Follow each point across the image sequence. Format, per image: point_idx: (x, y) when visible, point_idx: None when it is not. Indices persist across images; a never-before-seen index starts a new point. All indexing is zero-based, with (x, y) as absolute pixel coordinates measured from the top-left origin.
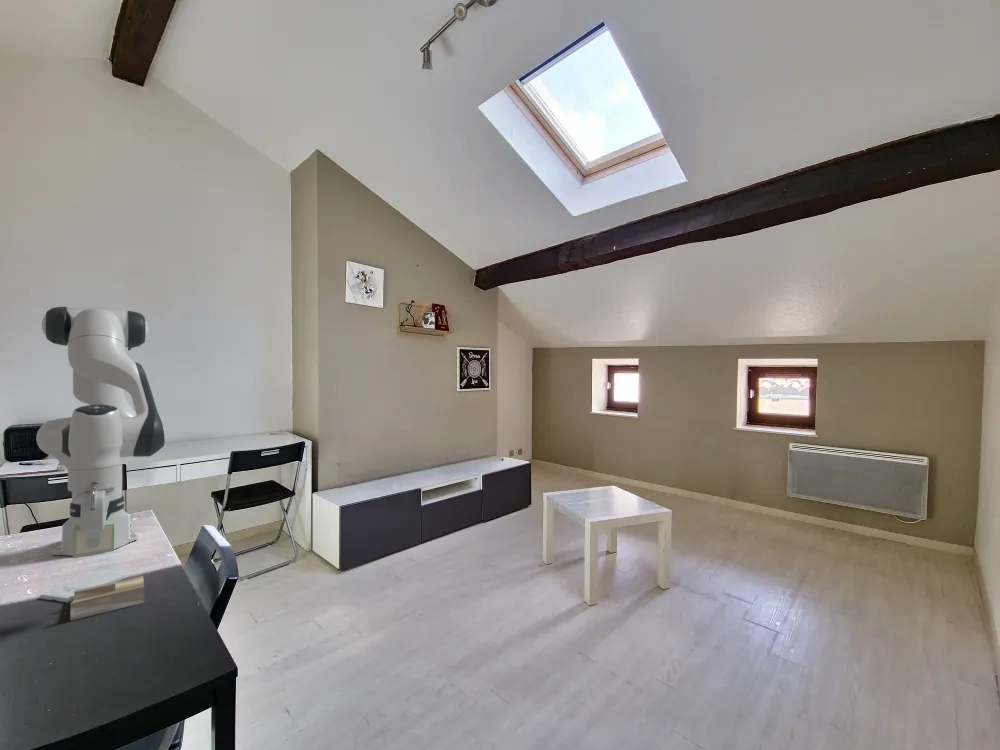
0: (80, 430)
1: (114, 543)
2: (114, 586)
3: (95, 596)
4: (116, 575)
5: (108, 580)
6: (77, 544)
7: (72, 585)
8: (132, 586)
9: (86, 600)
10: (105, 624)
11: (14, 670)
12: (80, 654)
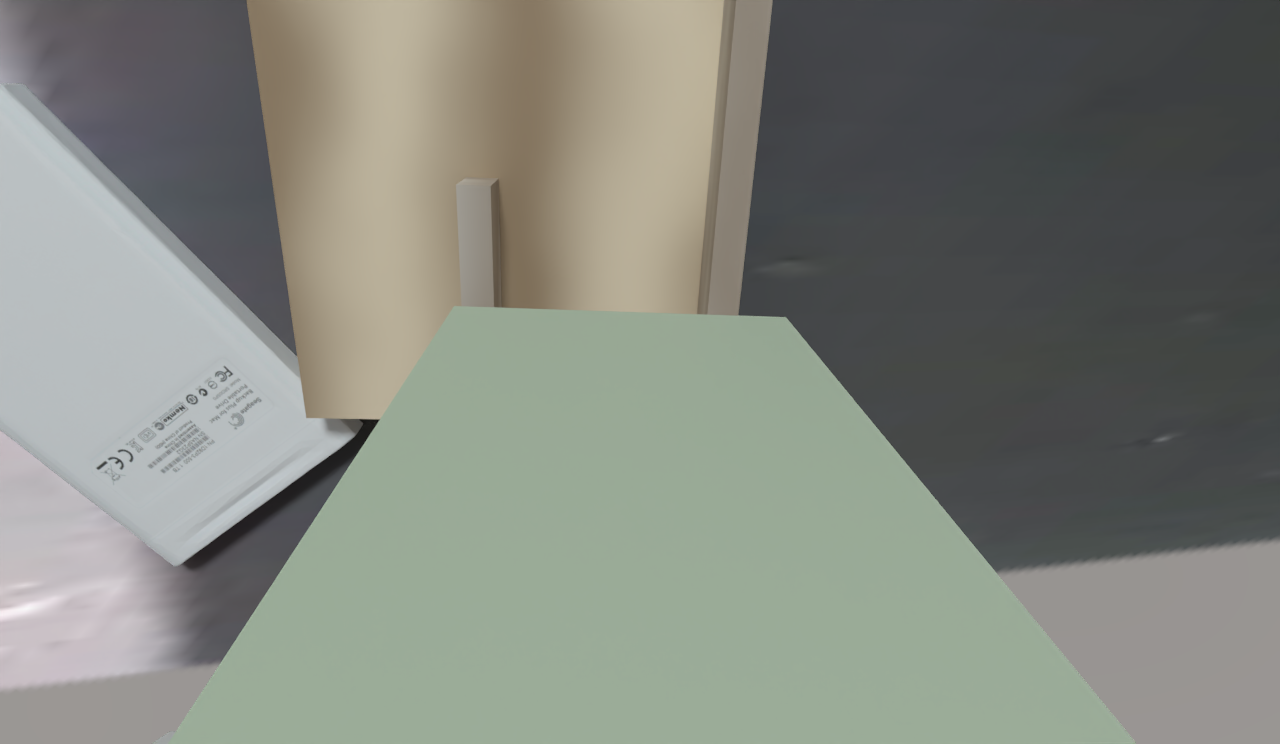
0: None
1: (484, 324)
2: (494, 188)
3: (543, 303)
4: (4, 151)
5: (109, 211)
6: None
7: (88, 429)
8: (503, 47)
9: None
10: (922, 230)
11: (1091, 547)
12: (1199, 336)
